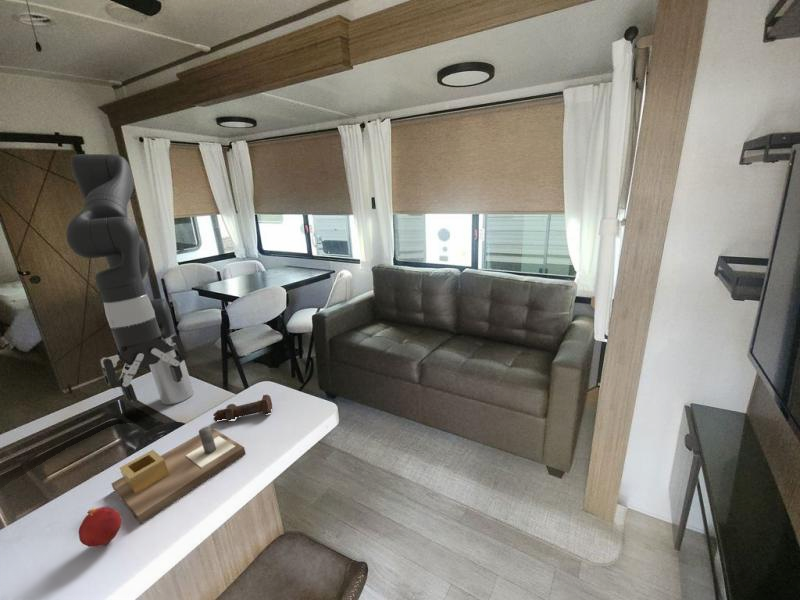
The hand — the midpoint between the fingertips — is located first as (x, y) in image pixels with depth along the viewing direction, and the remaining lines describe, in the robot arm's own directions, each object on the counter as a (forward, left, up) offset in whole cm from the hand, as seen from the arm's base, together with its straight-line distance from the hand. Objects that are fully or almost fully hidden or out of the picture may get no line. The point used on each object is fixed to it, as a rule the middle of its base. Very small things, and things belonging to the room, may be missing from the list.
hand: (156, 390), depth 75 cm
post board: (0, 0, -21) cm, 21 cm away
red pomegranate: (+7, -16, -21) cm, 27 cm away
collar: (-2, -6, -19) cm, 20 cm away
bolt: (-8, +20, -22) cm, 30 cm away
